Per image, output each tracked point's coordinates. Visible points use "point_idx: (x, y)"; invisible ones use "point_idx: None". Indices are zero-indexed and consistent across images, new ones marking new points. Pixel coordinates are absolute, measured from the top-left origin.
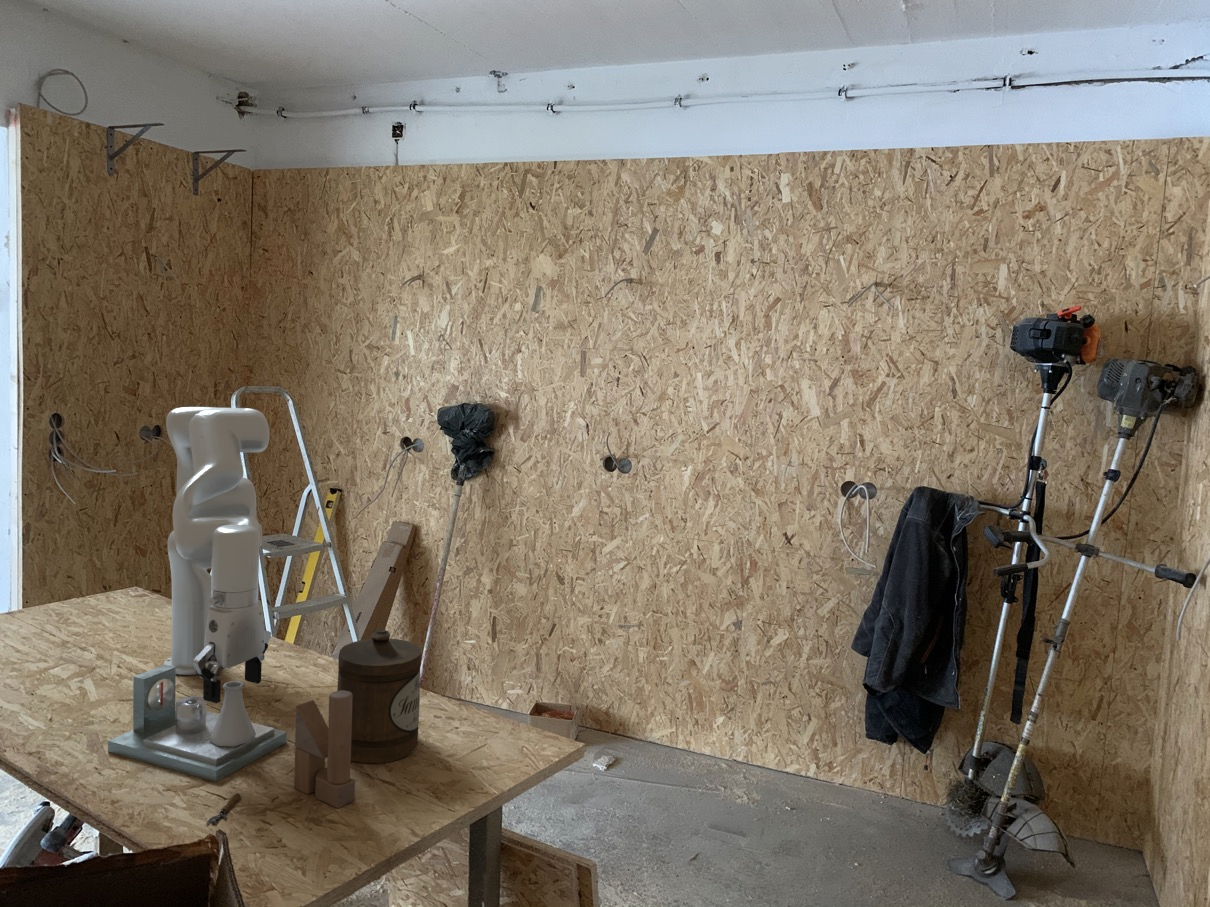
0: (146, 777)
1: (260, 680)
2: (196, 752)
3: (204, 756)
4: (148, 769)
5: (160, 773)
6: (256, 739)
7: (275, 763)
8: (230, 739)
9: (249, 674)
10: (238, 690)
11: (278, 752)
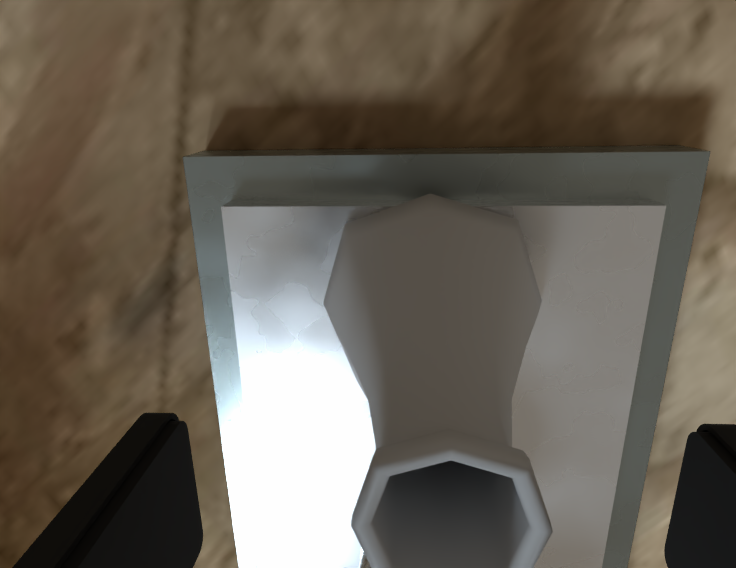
0: (726, 417)
1: (144, 422)
2: (630, 340)
3: (652, 280)
4: (662, 454)
5: (678, 398)
6: (360, 203)
7: (401, 32)
8: (520, 256)
9: (168, 555)
10: (460, 430)
11: (302, 109)
